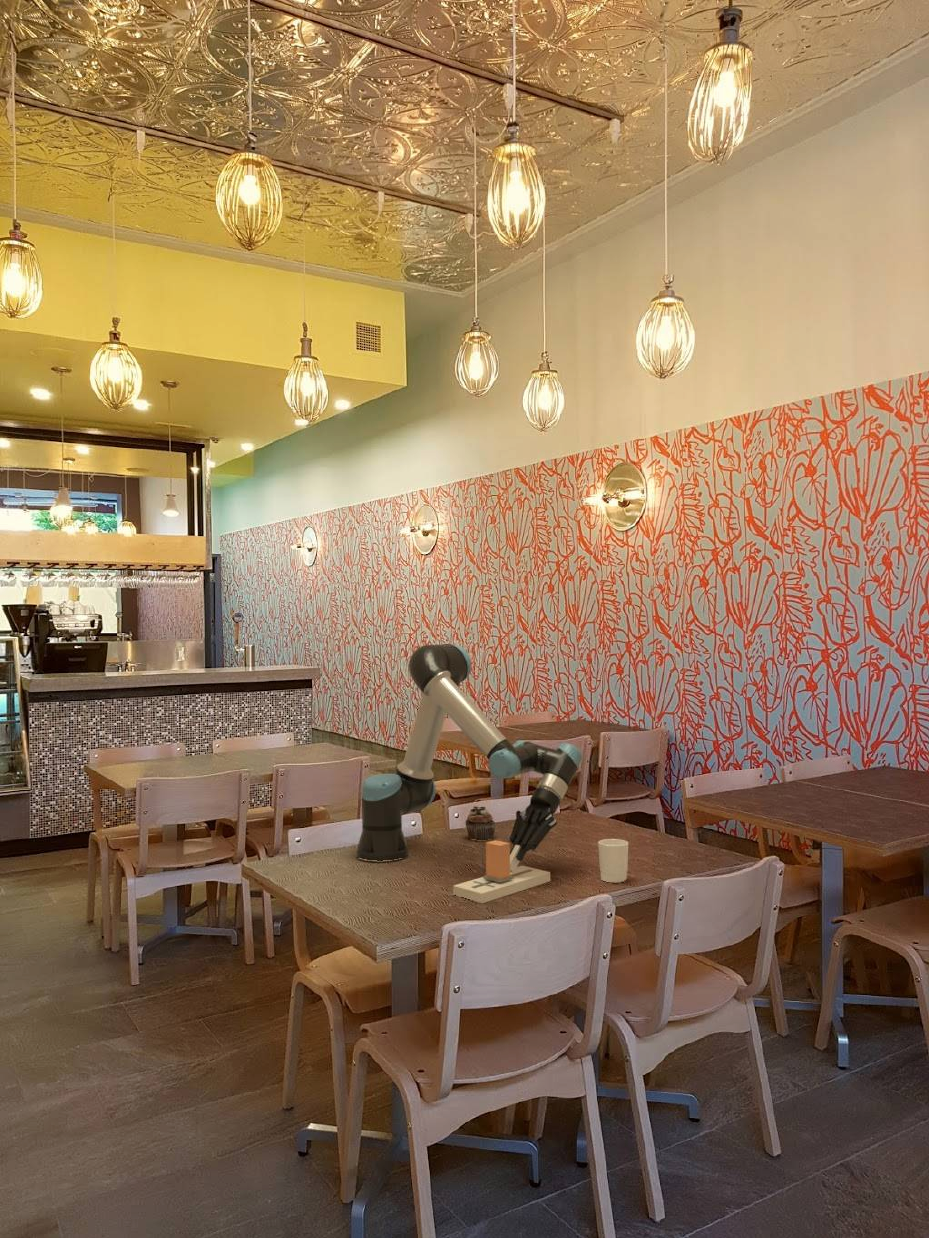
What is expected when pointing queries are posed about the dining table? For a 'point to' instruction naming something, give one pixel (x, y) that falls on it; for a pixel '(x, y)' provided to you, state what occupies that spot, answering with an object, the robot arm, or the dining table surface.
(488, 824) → the cupcake
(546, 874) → the fader console
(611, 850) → the white cup
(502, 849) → the fader knob
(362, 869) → the dining table surface
